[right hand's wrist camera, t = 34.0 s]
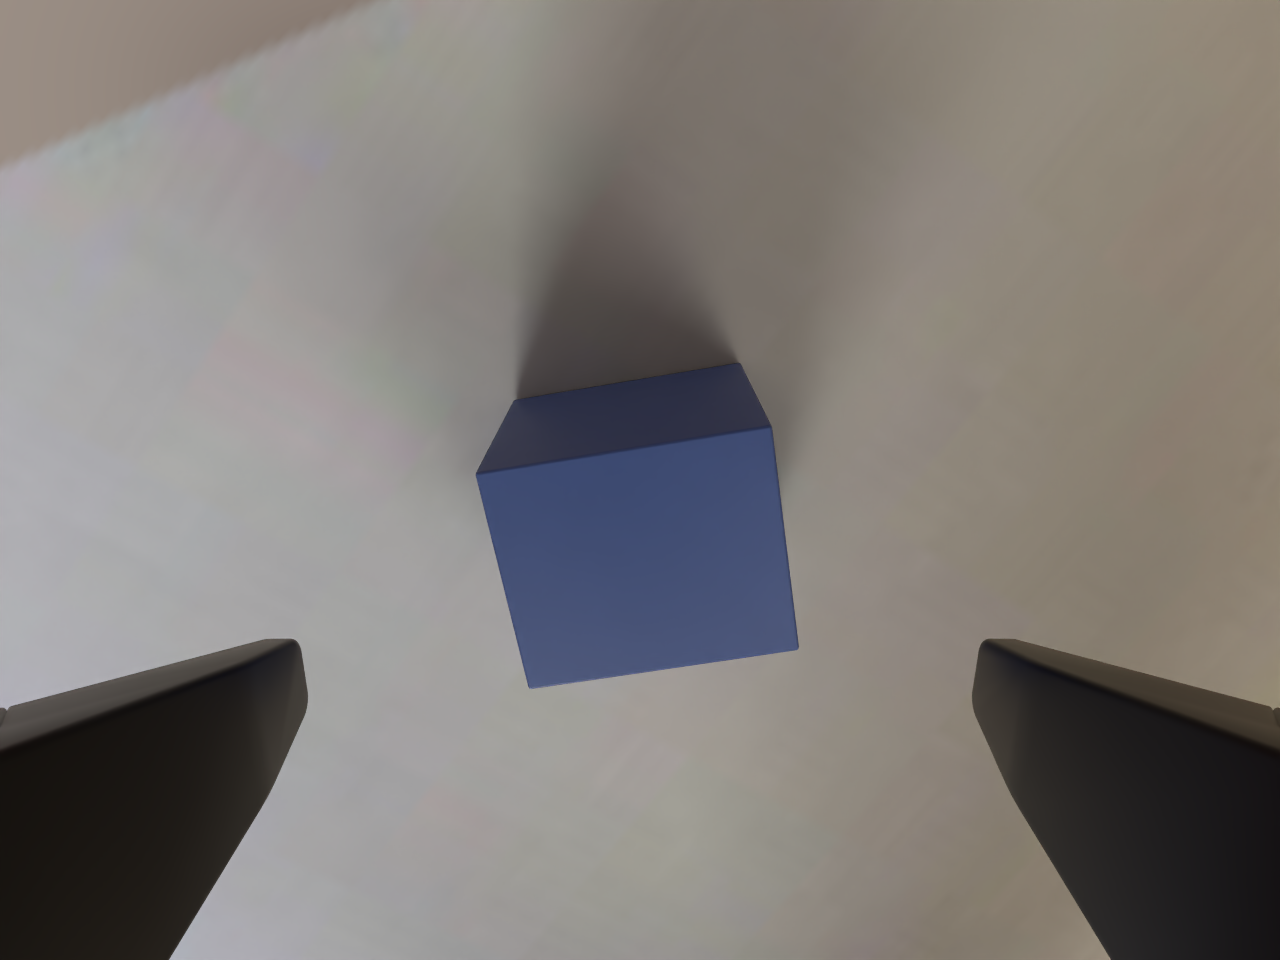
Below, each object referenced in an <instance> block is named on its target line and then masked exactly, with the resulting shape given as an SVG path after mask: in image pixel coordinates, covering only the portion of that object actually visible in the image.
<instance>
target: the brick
mask: <svg viewBox="0 0 1280 960" xmlns="http://www.w3.org/2000/svg"><path fill="white" fill-rule="evenodd" d="M476 478H477V482H478V486H479V490H480V494H481V498H482V502H483V506H484V510H485V514H486V518H487V522H488V526H489V530H490V534H491V538H492V542H493V546H494V550H495V554H496V558H497V562H498V566H499V570H500V574H501V578H502V582H503V586H504V590H505V594H506V598H507V602H508V606H509V611H510V615H511V619H512V623H513V627H514V631H515V635H516V639H517V643H518V647H519V651H520V655H521V659H522V663H523V667H524V671H525V675H526V679H527V683H528V687H529V688H530V689H534V688H541V687H547V686H554V685H561V684H568V683H575V682H582V681H588V680H595V679H602V678H609V677H616V676H623V675H629V674H636V673H643V672H650V671H657V670H664V669H670V668H677V667H684V666H691V665H698V664H705V663H711V662H718V661H725V660H732V659H739V658H746V657H752V656H759V655H766V654H773V653H780V652H787V651H793V650H798V648H799V644H798V636H797V628H796V620H795V612H794V603H793V595H792V587H791V579H790V571H789V563H788V554H787V546H786V538H785V530H784V522H783V514H782V505H781V497H780V489H779V481H778V473H777V465H776V456H775V448H774V440H773V432H772V426H771V424H770V422H769V420H768V418H767V416H766V414H765V412H764V410H763V408H762V406H761V404H760V402H759V400H758V398H757V396H756V394H755V392H754V390H753V388H752V386H751V384H750V382H749V380H748V378H747V376H746V374H745V372H744V370H743V368H742V366H741V364H740V363H735V364H729V365H723V366H717V367H711V368H705V369H699V370H693V371H687V372H681V373H675V374H669V375H663V376H657V377H651V378H645V379H639V380H633V381H627V382H621V383H615V384H609V385H603V386H597V387H591V388H585V389H579V390H573V391H567V392H561V393H555V394H548V395H542V396H536V397H530V398H524V399H518V400H514V401H513V403H512V405H511V407H510V409H509V411H508V413H507V415H506V417H505V419H504V421H503V422H502V424H501V426H500V428H499V430H498V432H497V434H496V436H495V438H494V440H493V442H492V443H491V445H490V447H489V449H488V451H487V453H486V455H485V457H484V459H483V461H482V463H481V465H480V466H479V468H478V470H477V472H476Z"/></svg>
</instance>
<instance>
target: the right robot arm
mask: <svg viewBox="0 0 1280 960" xmlns="http://www.w3.org/2000/svg"><path fill="white" fill-rule="evenodd" d="M307 703H308V692H307V685H306V678H305V672H304V665H303V659H302V652H301V648H300V646H299V644H298V642H297V641H296V640H294V639H264V640H260V641H257V642H253V643H249V644H245V645H241V646H238V647H234V648H230V649H226V650H222V651H219V652H215V653H211V654H207V655H204V656H200V657H196V658H192V659H188V660H185V661H181V662H177V663H173V664H169V665H166V666H162V667H158V668H154V669H151V670H147V671H143V672H139V673H135V674H132V675H128V676H124V677H120V678H116V679H113V680H109V681H105V682H101V683H98V684H94V685H90V686H86V687H82V688H79V689H75V690H71V691H67V692H63V693H60V694H56V695H52V696H48V697H45V698H41V699H37V700H33V701H29V702H26V703H22V704H18V705H14V706H11V707H9V708H8V710H6V709H5V708H0V960H169V959H170V957H171V955H172V954H173V952H174V951H175V949H176V947H177V946H178V944H179V942H180V941H181V939H182V937H183V936H184V934H185V932H186V931H187V929H188V927H189V926H190V924H191V923H192V921H193V919H194V918H195V916H196V914H197V913H198V911H199V909H200V908H201V906H202V904H203V903H204V901H205V900H206V898H207V896H208V895H209V893H210V891H211V890H212V888H213V886H214V885H215V883H216V881H217V880H218V878H219V877H220V875H221V873H222V872H223V870H224V868H225V867H226V865H227V863H228V862H229V860H230V858H231V857H232V855H233V854H234V852H235V850H236V849H237V847H238V845H239V844H240V842H241V840H242V839H243V837H244V835H245V834H246V832H247V831H248V829H249V827H250V826H251V824H252V822H253V821H254V819H255V817H256V816H257V814H258V812H259V811H260V809H261V807H262V806H263V804H264V802H265V800H266V799H267V797H268V795H269V793H270V791H271V789H272V787H273V785H274V783H275V781H276V779H277V776H278V774H279V772H280V770H281V767H282V765H283V763H284V761H285V758H286V756H287V754H288V752H289V749H290V747H291V745H292V743H293V740H294V738H295V736H296V734H297V731H298V729H299V727H300V725H301V722H302V720H303V718H304V716H305V713H306V709H307ZM972 703H973V709H974V713H975V716H976V718H977V720H978V722H979V725H980V727H981V729H982V731H983V734H984V736H985V738H986V740H987V743H988V745H989V747H990V749H991V752H992V754H993V756H994V758H995V761H996V763H997V765H998V767H999V770H1000V772H1001V774H1002V776H1003V779H1004V781H1005V783H1006V785H1007V787H1008V789H1009V791H1010V793H1011V795H1012V797H1013V799H1014V800H1015V802H1016V804H1017V806H1018V807H1019V809H1020V811H1021V812H1022V814H1023V816H1024V817H1025V819H1026V821H1027V822H1028V824H1029V826H1030V827H1031V829H1032V831H1033V832H1034V834H1035V835H1036V837H1037V839H1038V840H1039V842H1040V844H1041V845H1042V847H1043V849H1044V850H1045V852H1046V854H1047V855H1048V857H1049V858H1050V860H1051V862H1052V863H1053V865H1054V867H1055V868H1056V870H1057V872H1058V873H1059V875H1060V877H1061V878H1062V880H1063V881H1064V883H1065V885H1066V886H1067V888H1068V890H1069V891H1070V893H1071V895H1072V896H1073V898H1074V900H1075V901H1076V903H1077V904H1078V906H1079V908H1080V909H1081V911H1082V913H1083V914H1084V916H1085V918H1086V919H1087V921H1088V923H1089V924H1090V926H1091V927H1092V929H1093V931H1094V932H1095V934H1096V936H1097V937H1098V939H1099V941H1100V942H1101V944H1102V946H1103V947H1104V949H1105V951H1106V952H1107V954H1108V955H1109V957H1110V959H1111V960H1280V708H1275V709H1274V710H1272V708H1271V707H1269V706H1266V705H1262V704H1258V703H1254V702H1251V701H1247V700H1243V699H1239V698H1236V697H1232V696H1228V695H1224V694H1220V693H1217V692H1213V691H1209V690H1205V689H1201V688H1198V687H1194V686H1190V685H1186V684H1182V683H1179V682H1175V681H1171V680H1167V679H1164V678H1160V677H1156V676H1152V675H1148V674H1145V673H1141V672H1137V671H1133V670H1129V669H1126V668H1122V667H1118V666H1114V665H1111V664H1107V663H1103V662H1099V661H1095V660H1092V659H1088V658H1084V657H1080V656H1076V655H1073V654H1069V653H1065V652H1061V651H1058V650H1054V649H1050V648H1046V647H1042V646H1039V645H1035V644H1031V643H1027V642H1023V641H1020V640H1016V639H986V640H984V641H983V642H982V644H981V646H980V648H979V652H978V659H977V665H976V672H975V678H974V685H973V692H972Z"/></svg>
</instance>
